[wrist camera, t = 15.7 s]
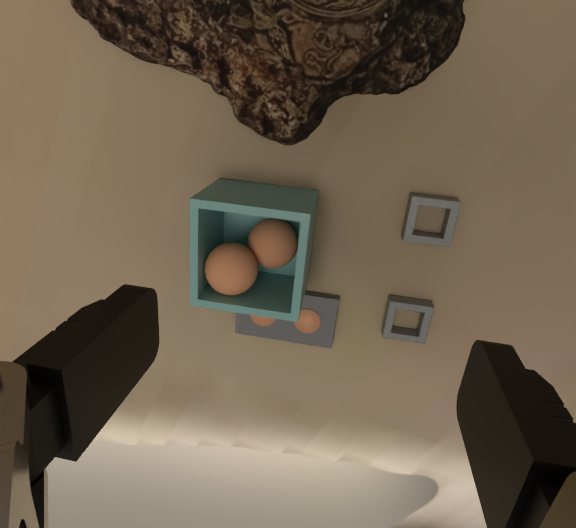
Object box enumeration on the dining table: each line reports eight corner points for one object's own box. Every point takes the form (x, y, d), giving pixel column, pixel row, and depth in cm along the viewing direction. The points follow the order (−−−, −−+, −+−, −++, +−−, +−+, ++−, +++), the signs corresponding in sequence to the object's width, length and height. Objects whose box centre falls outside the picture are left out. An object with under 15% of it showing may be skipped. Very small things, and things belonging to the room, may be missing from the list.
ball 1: (224, 280, 29) (185, 274, 31) (254, 308, 32) (215, 301, 34) (248, 232, 30) (209, 230, 33) (275, 263, 33) (237, 259, 36)
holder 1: (457, 198, 33) (461, 202, 32) (446, 242, 34) (449, 247, 33) (410, 192, 33) (412, 196, 32) (401, 236, 35) (403, 240, 33)
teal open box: (319, 190, 34) (310, 214, 28) (307, 281, 37) (298, 322, 31) (220, 178, 35) (189, 198, 28) (217, 268, 38) (189, 305, 32)
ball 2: (288, 210, 35) (308, 226, 32) (285, 255, 37) (303, 274, 34) (242, 212, 34) (257, 229, 30) (240, 258, 35) (255, 279, 32)
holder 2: (431, 300, 36) (433, 307, 35) (422, 336, 38) (424, 344, 37) (389, 294, 37) (390, 301, 36) (381, 330, 38) (382, 337, 37)
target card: (339, 295, 37) (338, 301, 36) (331, 343, 39) (331, 349, 38) (239, 281, 38) (237, 285, 37) (237, 328, 40) (234, 333, 39)
